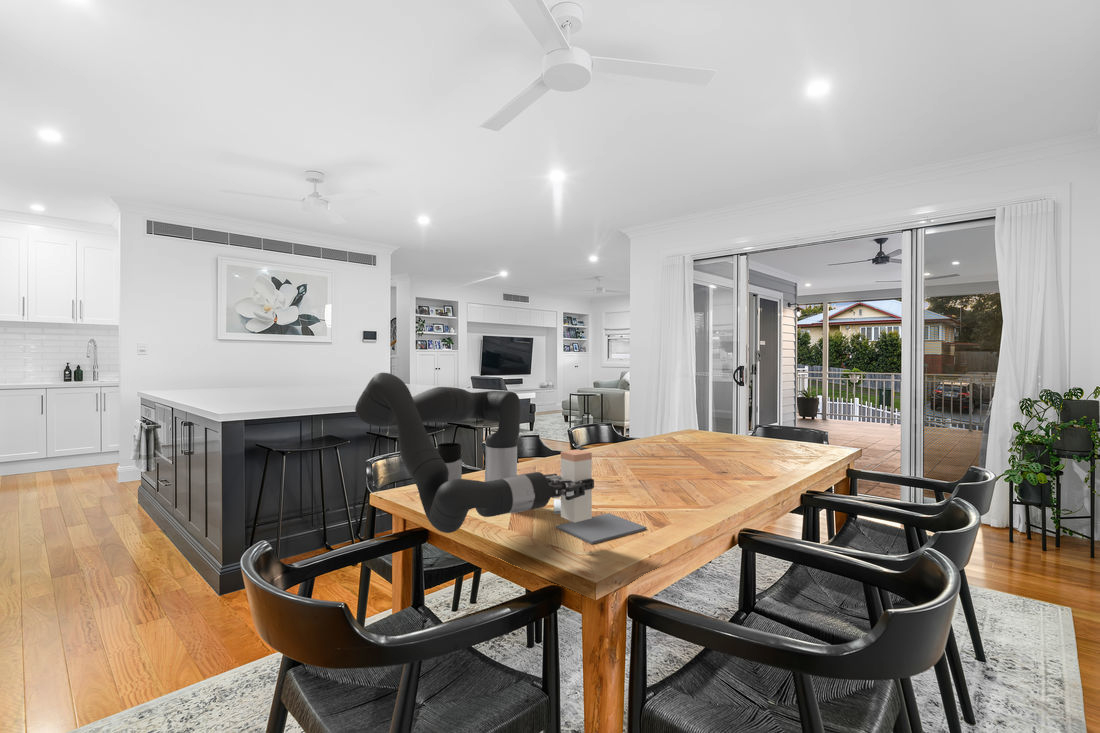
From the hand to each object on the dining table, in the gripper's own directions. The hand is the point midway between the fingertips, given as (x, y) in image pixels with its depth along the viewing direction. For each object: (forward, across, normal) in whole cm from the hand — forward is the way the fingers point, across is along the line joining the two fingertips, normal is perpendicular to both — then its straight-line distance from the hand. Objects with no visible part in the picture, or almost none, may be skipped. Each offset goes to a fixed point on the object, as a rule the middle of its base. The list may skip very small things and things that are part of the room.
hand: (585, 480), depth 117 cm
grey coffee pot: (-9, -60, -15) cm, 63 cm away
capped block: (-3, 0, -8) cm, 8 cm away
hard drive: (+14, -25, -16) cm, 33 cm away
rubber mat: (+10, -6, -15) cm, 19 cm away
